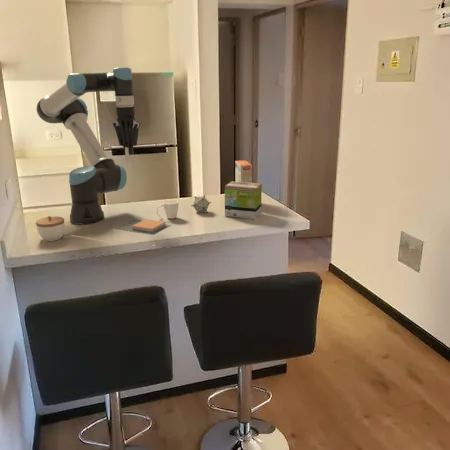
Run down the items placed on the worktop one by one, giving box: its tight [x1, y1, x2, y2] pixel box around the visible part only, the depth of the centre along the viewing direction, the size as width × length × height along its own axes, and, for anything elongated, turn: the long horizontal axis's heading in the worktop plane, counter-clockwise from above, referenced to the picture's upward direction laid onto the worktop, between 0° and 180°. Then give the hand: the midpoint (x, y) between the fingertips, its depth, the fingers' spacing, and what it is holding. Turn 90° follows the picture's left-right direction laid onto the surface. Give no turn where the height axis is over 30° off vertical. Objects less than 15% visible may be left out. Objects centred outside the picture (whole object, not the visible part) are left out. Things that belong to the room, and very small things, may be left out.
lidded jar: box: [35, 215, 66, 242], centre depth 190 cm, size 11×11×9 cm
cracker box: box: [234, 159, 253, 183], centre depth 234 cm, size 14×6×21 cm, turn 10°
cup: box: [156, 199, 180, 220], centre depth 213 cm, size 7×10×8 cm
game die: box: [190, 194, 212, 214], centre depth 223 cm, size 9×8×10 cm
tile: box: [132, 218, 166, 233], centre depth 201 cm, size 2×10×10 cm
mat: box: [114, 219, 172, 236], centre depth 202 cm, size 20×14×1 cm
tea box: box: [224, 180, 263, 220], centre depth 217 cm, size 15×10×15 cm
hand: (129, 162), depth 206 cm, fingers closed
